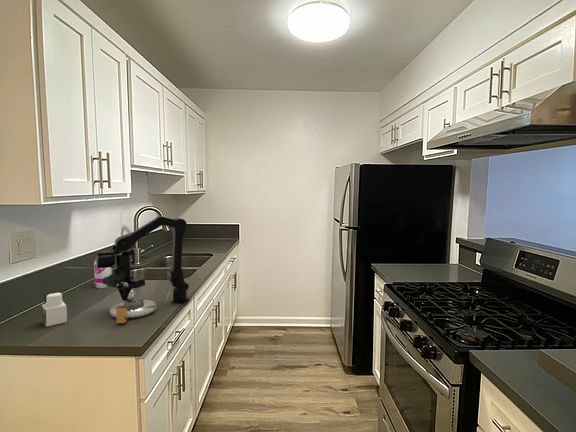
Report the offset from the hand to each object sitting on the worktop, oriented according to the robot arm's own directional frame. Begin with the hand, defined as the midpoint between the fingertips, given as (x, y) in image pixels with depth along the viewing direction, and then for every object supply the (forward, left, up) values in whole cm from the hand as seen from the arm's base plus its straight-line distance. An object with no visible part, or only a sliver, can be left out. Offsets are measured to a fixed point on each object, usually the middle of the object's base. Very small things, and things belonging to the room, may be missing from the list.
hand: (124, 300), depth 153 cm
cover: (0, +5, -2) cm, 6 cm away
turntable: (+2, +6, -4) cm, 7 cm away
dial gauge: (-10, -5, -5) cm, 12 cm away
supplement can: (-25, -41, -5) cm, 48 cm away
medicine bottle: (+20, -16, -5) cm, 26 cm away
